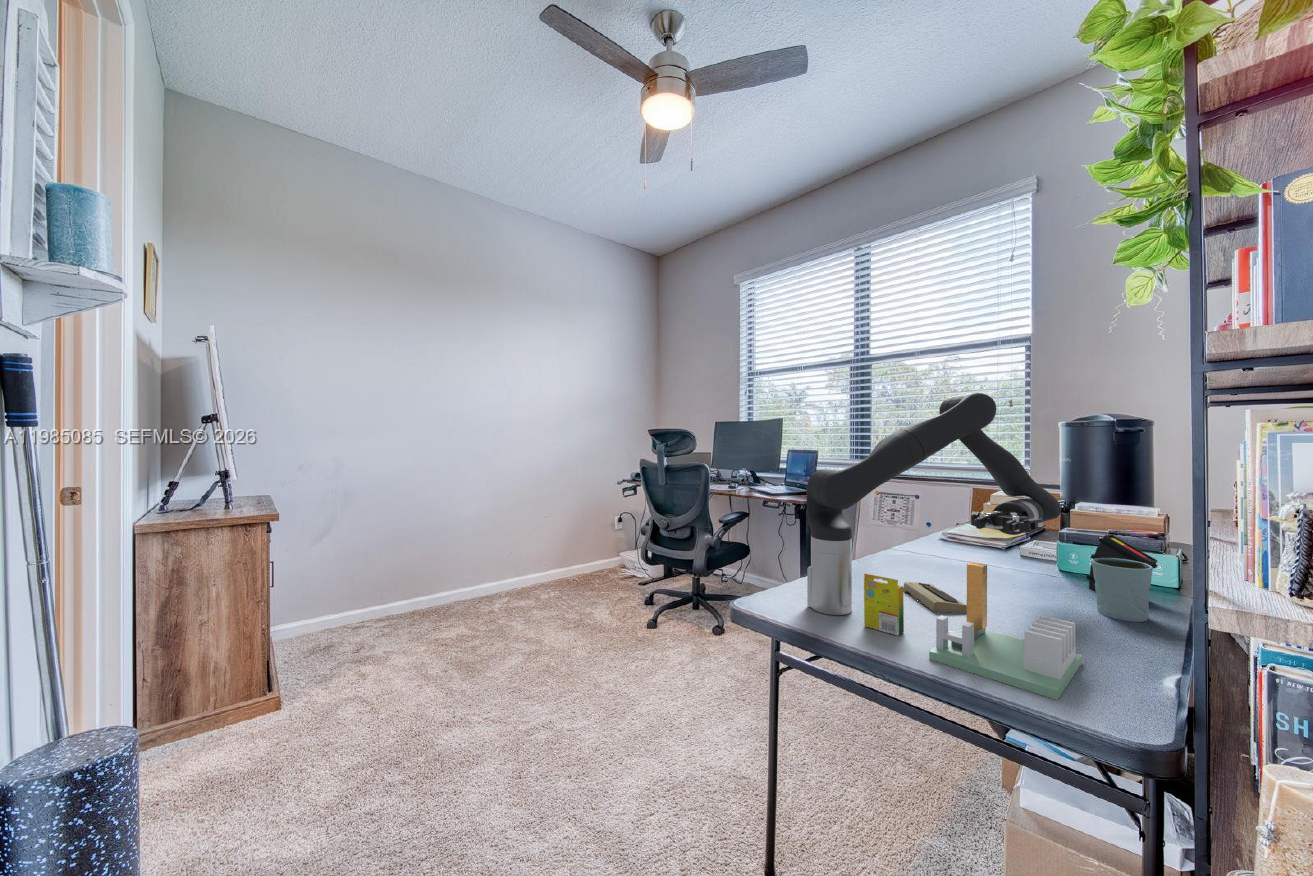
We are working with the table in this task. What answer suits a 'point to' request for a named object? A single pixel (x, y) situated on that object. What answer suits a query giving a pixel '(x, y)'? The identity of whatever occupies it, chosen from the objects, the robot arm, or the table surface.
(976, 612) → the wooden block
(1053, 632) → the heatsink board
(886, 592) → the crayon box
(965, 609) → the computer
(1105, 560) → the grey green bin
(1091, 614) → the table surface
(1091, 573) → the black striped box
